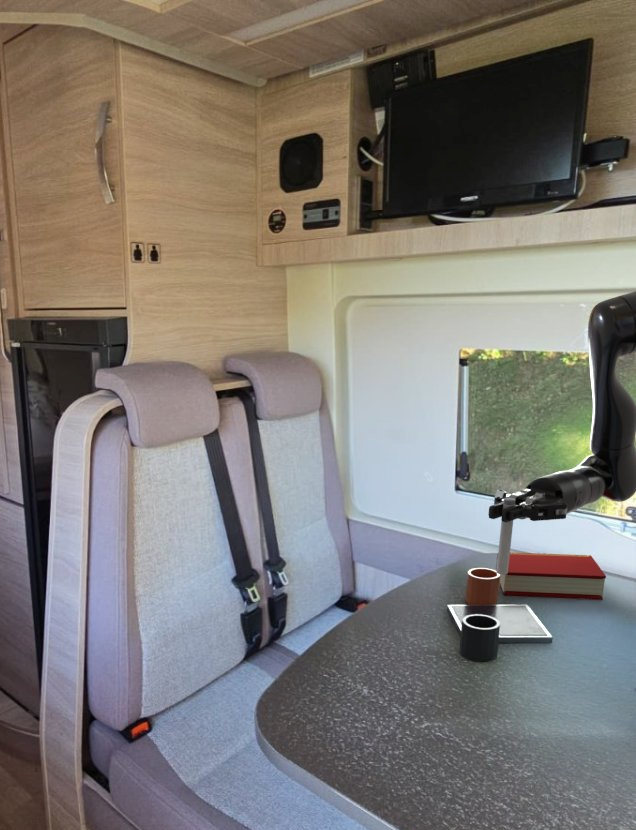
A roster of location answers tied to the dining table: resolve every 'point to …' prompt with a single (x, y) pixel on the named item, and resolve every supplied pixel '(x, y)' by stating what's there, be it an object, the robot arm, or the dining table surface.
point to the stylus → (505, 540)
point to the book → (553, 576)
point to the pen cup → (482, 586)
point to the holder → (479, 637)
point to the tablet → (506, 622)
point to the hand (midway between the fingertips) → (497, 514)
